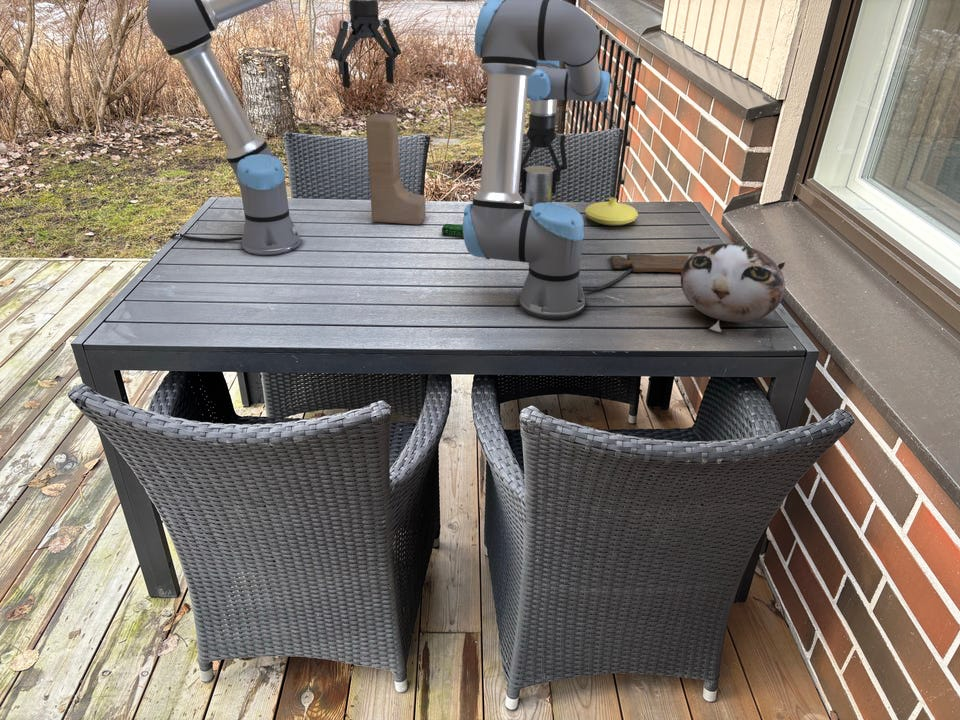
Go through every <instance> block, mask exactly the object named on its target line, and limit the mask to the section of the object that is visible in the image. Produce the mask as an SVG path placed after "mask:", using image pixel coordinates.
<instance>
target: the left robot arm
mask: <svg viewBox="0 0 960 720" xmlns="http://www.w3.org/2000/svg"><path fill="white" fill-rule="evenodd" d="M274 1H275V0H148V3H147V8H146V21H147V23H148V26H149V28H150V30H151V32H152V33H153V34H154V36H156V38H158V39H159V40H160V43H161V44H162V46H163V48H164V49H165V51H166V53H167V54H168V56H169V57H170V58H171V59H174V60H177V61H178V62H179V64H180V65H181V67H182V70H183V71H184V73H185V74H186V76H187V78H188V80H189V82H190V84H191V85H192V87H193V89H194V91H195V93H196V94H197V97H198V98H199V100H200V102H201V104H202V105H203V107H204V109H205V111H206V113H207V114H208V116H209V118H210V120H211V122H212V124H213V125H214V128H215V129H216V130H217V132H218V134H219V136H220V138H221V140H222V142H223V143H224V146H225V147H226V151H225V154H224V157H225V159H226V161H227V162H228V164H229V166H230V168H231V169H232V171H233V173H234V175H235V177H236V178H237V181H238V185H239V190H240V196H241V201H242V208H243V212H244V213H243V215H244V219H245V220H244V226H243V228H244V229H243V235H242V236H236V237H229V238H228V237H227V238H212V237H210V238H209V237H198V236H191V235H186V234H182V233H179V232H178V234H177V233H173V234H171V235H170V236H169V240H172V239H174V238H175V237H177V236H176V235H179V234H180V236H178V237H180V238H183V239H187V240H193V241H201V242H216V243H217V242H222V243H223V242H233V241H234V242H235V241H241V246H242V249H243V251H244V252H246V253H248V254H252V255H255V256H256V255H257V256H275V255H281V254H282V255H283V254H285V253H289V252H291V251H293V250H296V249H297V248H298V247H299V246H300V244H301V241H300V235H299V233H298V231H297V230H298V229H297V226H296V225H295V224H294V223H293V220H292V218H291V216H290V207H289V200H288V192H287V183H286V178H285V177H286V171H285V168H284V164H283V162H282V161H281V159H280V158H278V157H277V156H275V155H274V154H273V152H272V150H271V149H270V147H269V145H268V143H267V141H266V139H265V138H264V137H262V136H260V135H257V134H256V132H255V130H254V128H253V126H252V124H251V122H250V121H249V118H248V116H247V115H246V113H245V110H244V109H243V107H242V105H241V103H240V101H239V99H238V97H237V96H236V93H235V92H234V90H233V87H232V86H231V84H230V82H229V79H228V77H227V76H226V74H225V72H224V71H223V68H222V66H221V64H220V62H219V61H218V58H217V57H216V55H215V53H214V51H213V49H212V47H211V46H212V41H213V36H212V34H211V32H213V31H216V30H218V27H219V24H221V23H222V22H225V21H228V20H230V19H233V18H235V17H237V16H240V15H242V14H245V13H247V12H250V11H252V10H254V9H257V8H259V7H262V6H265V5H266V4H269V3H272V2H274ZM348 6H349V16H350V20H349V21H347V20H342V19H341V20H340V21H339V30H338V33H337V36H336V39H335V42H334V45H333V48H332V51H331V54H330V58H331V59H332V60H335V61H337V62H338V63H337V64H338V73H339V75H341V77H342V79H341V80H342V87H343V88H346V89H350V88H351V81H350V80H351V79H350V66H349V61H347V59H348V58H349V55H350V54H351V52H352V51H353V49H354V47H355V45H356V44H357V42H359V41H360V39H362V40H364V39H367V38H368V39H374V40H375V41H376V43H377V44H378V45H379V47H380V48H381V49H382V50H383V52H384V53H385V54H386V55H387V56H385V59H384V61H385V78H386V83H388V84H394V71H395V70H396V59H397V57H398V56H401V54H402V51H401V48H400V46H399V44H398V42H397V39H396V37H395V35H394V32H393V30H392V29H391V24H390V19H389V18H386V17H385V18H384V17H382V18H381V19H379V1H378V0H349V2H348ZM379 27H380V28H381V29H382V31H383V33H384V35H385V38H386V40H387V41H386V40H385V38H384V37H383V35H382V33H381V32H380V31H379ZM350 28H351V32H350V34H349V35H348V31H349V30H350ZM347 36H349V37H348V39H347ZM346 39H347V41H346Z"/></svg>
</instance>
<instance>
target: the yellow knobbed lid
mask: <svg viewBox="0 0 960 720" xmlns="http://www.w3.org/2000/svg"><path fill="white" fill-rule="evenodd" d="M584 211H585V216H586V217H587V218H588V219H590V220H592V221H593V222H595V223H597V224H600V225H603V226H610V227H611V226H612V227H615V226H624V225H627V224H631V223H633V222H634V221H636V220H637V218H638V217H639V213H638V211H637V210H636V208H635V207H634V206H632V205H629V204H626V203H623V202H617V198H616V197H609V198H608V201H599V202H598V201H597V202H594V203H591V204H589V205H588V206H587V207H586V208H585V210H584Z"/></svg>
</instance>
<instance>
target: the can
mask: <svg viewBox="0 0 960 720" xmlns="http://www.w3.org/2000/svg"><path fill="white" fill-rule="evenodd" d="M524 169H525V185H524V193H523V199H524V201H525V202H524V206H528V207H531V208H533V206H534V205H535V204H538V203H546V202H550V203H553V178H554V169H555V168H552V167H551V166H545V165H531V166H527V167H524Z"/></svg>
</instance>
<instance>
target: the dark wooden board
mask: <svg viewBox="0 0 960 720" xmlns="http://www.w3.org/2000/svg"><path fill="white" fill-rule="evenodd" d="M689 258H690V256H689V255H684V254H683V255H682V254H681V255H679V254H678V255H677V254H676V255H675V254H674V255H673V254H672V255H669V254H668V255H654V254H653V255H652V254H633V253H631V254H627V255H626V257H624V256H621V255H610V257H609V259H610V264H611V267H612V269H613V270H624V269H630V268H631V269H632V268H633V271H632V272H633V273H649V272H652V273H654V272H656V273H657V272H659V273H680V274H681V273H682V269H683V267H684V265H685V263H686V262H687V261H688V259H689Z"/></svg>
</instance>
